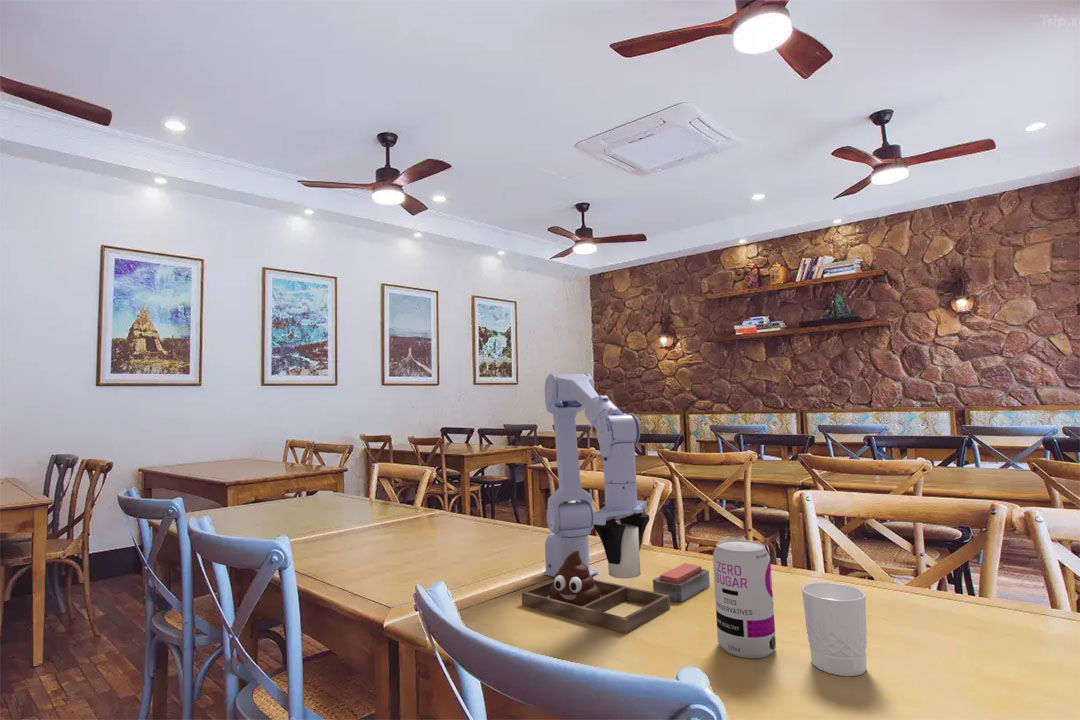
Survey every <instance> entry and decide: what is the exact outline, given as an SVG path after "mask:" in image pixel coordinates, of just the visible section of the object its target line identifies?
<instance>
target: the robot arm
mask: <svg viewBox="0 0 1080 720" xmlns="http://www.w3.org/2000/svg"><path fill="white" fill-rule="evenodd" d="M544 401H545V407H546V409H545V410H546V412H547V413H550V414H551V415H552V417H553V418H552V419H553V427H554V440H555V453H556V454H555V455H556V463H557V466H556V467H557V477H558V478H557V479H558V488H557V489H556V490H555V491H554V492H553V493H552V494H551V495H550V496H549V497H548V499H547V510H546V521H547V526H548V527H547V528H548V530H550V531H551V532H550V533H548V535H547V537H546V539H545V543H544V553H545V554H544V555H545V557H544V558H545V560H544V561H545V571H544V572H543V575H544V576H549V577H553V578H554V575H555V574H556V573H557V572H559V568H560V567H561V566H562V565H563V563H564V561H565V559H566V558H567V557H568V556H569V555H570V554H571V553H573V552H575V551H579V556H580V558H581V560H582V563H584V564H585V565H587V567H588V570H589V572H590V575H591V576H592V577H593V576H594V575H597V574H598V573H599V570H596V569H592V568H590V567H591V566H590V565H591V564H590V543H589V542H590V541H589V535H590V534H592V530H593V529H594V530H595V531H596V533H597V535H598V537H599V538H600V541H601V544H602V546H603V549H604V553H605V557H606V559H607V564H608V563H611V564H616V565H618V564H620V560H621V543H622V537H623V533H624V530H625V527H626V525H621V524H627V525H634V526H637V527H638V532H639V553H641V548H642V547H641V546H642V543H643V537H644V533H645V531H646V529H647V526H648V524H649V522H650V515H649V514H643V513H647V512H648V510H649V509H648V501H646V500H638V493H637V492H638V490H637V489H638V488H637V471H636V469H637V468H636V448H635V446H636V445H637V444H638V443H639V440H640V438H641V426H640V422H639V419H638V418H637V416H636V415H635V413H623V412H622V411H621V410H620V409H619V408H618V407H617V406H616V405H615V404H614V403H613V402H612V401H611V399H610V398H609V396H607V395H599V394H598V393H597V391H596V390H595V383H594V378H593V377H592V376H591V374H590V373H588V372H585V373H563V374H562V373H560V374H559V373H557V374H556V373H549V374H548V375H547V377H546V379H545V384H544ZM582 411H584V416H585V418H586V420H588V421H589V423H590V424H591V425H592V427H594V429H595V430H596V433H595V434H596V438H597V442H598V444H599V445H598V446H599V453H600V456H601V457H602V459H603V460H602V461H603V463H602V464H603V483H604V487H603V488H604V506H603V507H602V508H600V509H599V510H597V511H596V508H595V505H594V500H593V496H592V495H591V494H590V492H588V491H586V490H585V489H583V488H582V484H581V482H582V481H581V473H580V461H579V460H580V459H579V450H578V448H579V447H578V439H577V427H576V426H577V425H576V416H577V415H578V413H580V412H582ZM572 501H576V502H572ZM578 501H579V502H578ZM565 502H566V503H565ZM617 520H619V522H620V523H618V521H617Z"/></svg>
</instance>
